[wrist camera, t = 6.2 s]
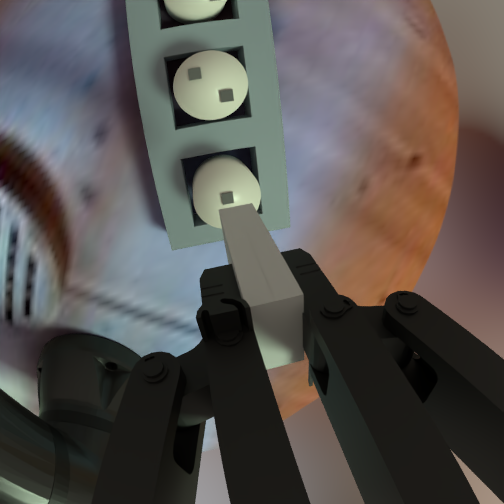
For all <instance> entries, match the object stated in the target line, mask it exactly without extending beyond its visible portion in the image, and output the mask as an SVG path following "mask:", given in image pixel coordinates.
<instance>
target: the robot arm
mask: <svg viewBox="0 0 504 504" xmlns="http://www.w3.org/2000/svg"><path fill="white" fill-rule="evenodd" d="M219 216H220V221H221V226H222V232H223V237H224V242H225V248H226V253H227V258H228V263H229V265H224V266H219V267H215V268H210V269H205V270H204V272H203V274H202V275H201V277H200V288H201V297H202V306H201V307H200V308H199V310H198V311H197V315H196V320H197V323H198V326H199V329H200V332H201V335H202V338H203V339H202V340H201V342H200V343H199V344H198V345H197V346H196V347H195V348H194V349H192V350H190V351H188V352H187V353H184V354H182V355H180V356H178V357H175V356H173V355H172V354H170V353H166V352H154V353H150V354H148V355H146V356H143V357H142V358H141V357H139V356H138V355H137V354H135V353H134V352H132V351H131V350H129V349H127V348H126V347H124V346H122V345H120V344H117V343H115V342H113V341H110V340H107V339H104V338H100V337H96V336H91V335H84V334H68V335H62V336H59V337H56V338H54V339H52V340H50V341H49V342H48V343H47V344H46V345H45V346H44V348H43V350H42V353H41V355H40V358H39V361H38V365H37V378H38V399H39V410H40V412H39V417H38V416H36V415H35V414H33V413H32V412H30V411H29V410H28V409H26V408H25V407H24V406H22V405H21V404H19V403H18V402H17V401H16V400H14V399H13V398H12V397H10V396H9V395H8V394H7V393H5V392H4V391H3V390H2V389H0V504H195V499H196V491H197V484H198V476H199V468H200V461H201V453H202V446H203V438H204V431H205V424H206V420H208V419H210V418H212V417H214V418H215V424H216V430H217V436H218V442H219V447H220V453H221V458H222V464H223V469H224V474H225V479H226V484H227V489H228V494H229V498H230V503H231V504H310V501H309V498H308V495H307V492H306V489H305V487H304V484H303V481H302V478H301V475H300V472H299V469H298V466H297V463H296V460H295V457H294V454H293V451H292V448H291V446H290V442H289V439H288V436H287V433H286V430H285V427H284V424H283V420H282V417H281V414H280V411H279V408H278V405H277V402H276V399H275V396H274V392H273V389H272V386H271V383H270V380H269V377H268V374H267V369H271V368H275V367H279V366H282V365H286V364H290V363H294V362H297V361H301V360H304V350H305V353H306V355H307V357H308V359H309V377H308V381H309V386H313V382H314V384H315V387H316V389H317V391H318V394H319V396H320V398H321V401H322V403H323V405H324V408H325V410H326V412H327V415H328V417H329V420H330V422H331V424H332V427H333V429H334V431H335V434H336V436H337V438H338V441H339V443H340V445H341V448H342V450H343V453H344V455H345V457H346V460H347V462H348V465H349V467H350V469H351V472H352V474H353V477H354V479H355V481H356V484H357V486H358V489H359V491H360V493H361V496H362V498H363V500H364V502H365V504H480V503H479V501H478V500H477V497H476V495H475V494H474V492H473V490H472V488H471V486H470V484H469V482H468V480H467V478H466V477H465V475H464V473H463V471H462V469H461V468H460V466H459V464H458V462H457V461H456V459H455V457H454V455H453V453H452V452H451V450H452V451H453V452H454V453H455V454H456V455H457V456H458V457H459V458H460V459H461V460H462V461H463V462H464V463H465V464H466V465H467V466H468V467H469V469H471V471H472V472H474V474H475V475H476V476H477V477H478V478H479V479H480V480H481V481H482V482H483V483H484V484H485V485H486V486H487V487H488V488H489V489H490V490H492V492H493V493H494V494H495V495H496V496H497V497H498V498H499V499H500V500H501V501H502V502H503V503H504V359H502V358H501V357H500V356H499V355H497V354H496V353H495V352H494V351H493V350H491V349H490V348H489V347H488V346H486V345H485V344H484V343H482V342H481V341H480V340H479V339H477V338H476V337H475V336H474V335H472V334H471V333H470V332H469V331H467V330H466V329H465V328H463V327H462V326H461V325H459V324H458V323H457V322H455V321H454V320H453V319H451V318H450V317H449V316H447V315H446V314H445V313H443V312H442V311H441V310H439V309H438V308H437V307H435V306H434V305H432V304H431V303H430V302H428V301H427V300H426V299H424V298H423V297H421V296H420V295H418V294H416V293H414V292H409V291H397V292H395V293H392V294H390V295H389V296H388V297H387V298H386V301H385V305H384V306H357V305H356V303H355V302H354V301H352V300H351V299H350V298H348V297H346V296H343V295H338V293H337V292H336V290H335V289H334V287H333V286H332V285H331V283H330V282H329V280H328V279H327V277H326V276H325V275H324V273H323V272H322V271H321V269H320V267H319V266H318V265H317V264H316V262H315V260H314V259H313V258H312V256H311V255H310V254H309V253H307V252H305V251H304V250H302V249H300V248H299V249H294V250H290V251H285V252H280V251H279V249H278V248H277V246H276V244H275V242H274V240H273V239H272V237H271V235H270V233H269V232H268V230H267V228H266V226H265V225H264V223H263V221H262V219H261V218H260V216H259V214H258V213H257V211H256V209H255V207H254V206H253V204H252V203H250V204H245V205H240V206H234V207H229V208H224V209H219ZM414 352H415V353H414ZM416 353H417V354H418V355H417V354H416ZM450 449H451V450H450Z"/></svg>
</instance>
